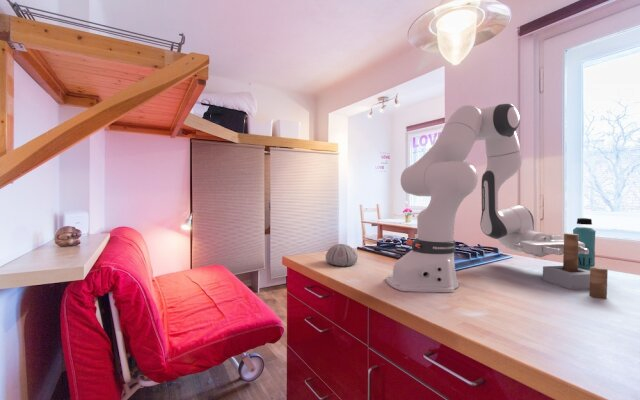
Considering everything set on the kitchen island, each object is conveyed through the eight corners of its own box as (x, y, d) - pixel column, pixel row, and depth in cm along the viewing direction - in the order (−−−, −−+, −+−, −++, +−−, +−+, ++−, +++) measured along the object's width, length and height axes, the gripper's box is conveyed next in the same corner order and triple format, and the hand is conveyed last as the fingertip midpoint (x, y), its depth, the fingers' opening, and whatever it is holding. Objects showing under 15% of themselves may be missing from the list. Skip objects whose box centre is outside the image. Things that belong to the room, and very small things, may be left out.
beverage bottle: (585, 270, 111) (586, 217, 111) (600, 275, 105) (601, 219, 104) (566, 270, 112) (567, 217, 111) (580, 275, 105) (581, 218, 105)
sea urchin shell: (347, 258, 131) (347, 240, 131) (364, 265, 119) (364, 245, 118) (319, 261, 125) (320, 242, 125) (335, 269, 113) (335, 248, 113)
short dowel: (599, 298, 82) (599, 270, 82) (585, 294, 86) (586, 267, 85) (610, 298, 83) (611, 269, 82) (596, 293, 86) (597, 266, 86)
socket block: (571, 289, 90) (571, 274, 90) (542, 279, 100) (543, 266, 100) (600, 288, 91) (600, 273, 91) (569, 278, 101) (569, 265, 101)
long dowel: (570, 285, 93) (571, 235, 93) (559, 282, 97) (561, 233, 97) (580, 285, 94) (581, 235, 93) (569, 281, 97) (570, 233, 97)
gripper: (511, 236, 107) (544, 242, 93) (561, 235, 109) (601, 241, 95) (510, 253, 107) (544, 262, 93) (561, 252, 109) (601, 261, 95)
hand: (573, 252), depth 94 cm, fingers open, 8 cm apart
